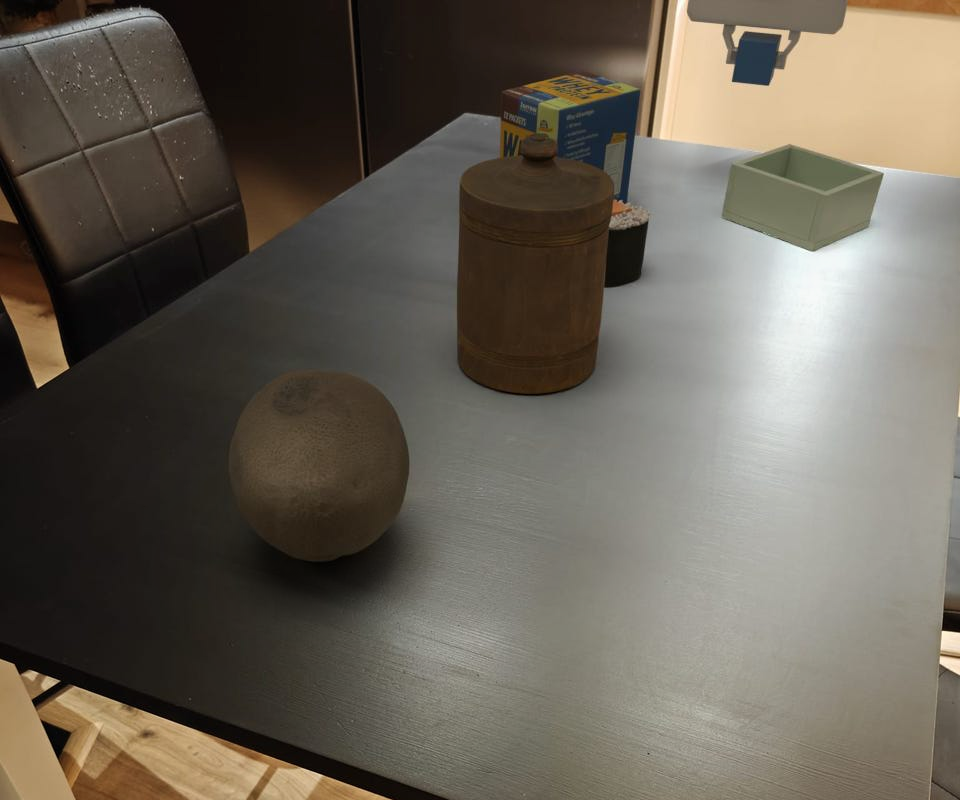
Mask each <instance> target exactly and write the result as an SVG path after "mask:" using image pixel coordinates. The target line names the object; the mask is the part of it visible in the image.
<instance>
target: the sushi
mask: <svg viewBox="0 0 960 800" xmlns="http://www.w3.org/2000/svg"><path fill="white" fill-rule="evenodd" d="M631 204H632V203H631V202H627V203H626V204H624V203H623V201H622V200H620V201H618V202H617V200H615V199H614V200H613V209H612V216H611V221H610V224H609V234H608V245H607V256H606V268H605V281H604V288H605V287H606V288H611V287H612V288H613V287H618V286H622V285H626V284H629V283H631V282H633V281H636V280H638V279H639V278H640V277H641V276H642V271H643V265H644V257H645V249H646V243H647V235H648V228H649V220H650V216H651V212H650V211H649V210H648V209H644V208H643V206H642V205H640V206H638V205H631Z"/></svg>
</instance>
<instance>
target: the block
mask: <svg viewBox="0 0 960 800" xmlns="http://www.w3.org/2000/svg"><path fill="white" fill-rule="evenodd" d="M782 36H783V35H782V34H779V33H767V32H759V31H758V32H757V31H748V30H744V32H742V35H741V36H740V38H738V39H739V40H738V45H737V47H738V49H737V55H736V60H735V65H733V72H732V78H731V83H736V84H737V83H738V84H745V85H746V84H747V85H757V86H763V87H765V86H766V87H769V86H770V85H771V82H772V80H773V78H774V75H775V70H776V69H773V68H774V63H775V58H776V54H777V52H778V51H780V46H781V41H782Z"/></svg>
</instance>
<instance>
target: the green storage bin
mask: <svg viewBox="0 0 960 800" xmlns="http://www.w3.org/2000/svg"><path fill="white" fill-rule="evenodd" d="M729 169H730V170H729V174H728V179H727V185H726V189H725V196H724V199H723V200H724V202H723V206H722V211H721V216H722V217H724V218H726V219H725V220H727V219H728V220H727V221H730V220H731V221H730V222H732V221H734V222H733V223H735V222H736V223H735V224H738V223H739V224H738V225H740V224H741V226H743V225H745V226H744V227H746V226H747V227H746V228H748V227H751V228H754V229H756V230H759V231H762V232H765V233H767V234H770V235H772V236H771V237H773V236H775V237H777V238H776V239H778V238H780V239H779V240H781V239H782V240H781V241H783V240H785V241H784V242H786V241H788V242H787V243H789V242H790V243H789V244H791V243H792V244H791V245H794V246H797V247H800V248H802V249H804V250H807V251H810V252H814V251H817V250H819V249H821V248H824V247H826V246H829V245H831V244H832V243H835V242H838V241H840V240H842V239H844V238H846V237H849V236H851V235H854V234H856V233H858V232H861V231H862V230H865V229H868V228H869V224H870V222H871V218H872V216H873V215H872V214H873V211H874V208H875V206H876V202H877V199H878V195H879V192H880V188H881V185H882V182H883V178H884V175H885V172H882V171H879V170H876V169H873V168H868V167H866V166H863V165H859V164H856V163H853V162H849V161H846V160H843V159H840V158H837V157H833V156H830V155H827V154H824V153H820V152H817V151H814V150H810V149H807V148H805V147H801V146H798V145H795V144H791V143H788V144H786V145H783V146H779V147H776V148H774V149H771V150H768V151H765V152H762V153H759V154H755V155H753V156H750V157H746V158H744V159H741V160H738V161H734V162H732V163H731V164H730V168H729ZM722 217H721V218H722ZM724 218H723V219H724ZM751 228H750V229H751ZM754 229H753V230H754ZM756 230H755V231H756ZM759 231H758V232H759ZM762 232H761V233H762ZM765 233H764V234H765ZM767 234H766V235H767ZM770 235H769V236H770ZM775 237H774V238H775Z"/></svg>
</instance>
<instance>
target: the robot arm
mask: <svg viewBox="0 0 960 800" xmlns="http://www.w3.org/2000/svg"><path fill="white" fill-rule="evenodd" d="M848 2H849V0H688V1H687V6H686V14H687V16H688V18H689V20H690V21H691V22H694V23H705V24H715V25H716V24H717V25H723V27H722V28H723V29H722V37H723V40H724V43H725V47H726V49H727V53H726V59H725V64H726V65H733V66H735V60H736V55H737V49H738V46H736V45H735V42H734V38H733V34H734V33H735V32H736V29H737V27H738V26H739V27H747V28H748V27H749V28H759V29H768V30H780V31H789V33H788V37H787V40H788V41H789V42H788V44H787V46H786V47H785V48H784V50H783V51H781V50H779V51H778V52H777V54H776V58H775V63H774V68H773V69H775V70H785V68H786V65H787V60H788V56H789V54H790V53H791V52H792V51H793V49H794V48H795V46H797V44H798V43H799V41H800V39H801V35H802V32H803V33H811V34H812V33H813V34H822V35H836V33H838V32H839V31H840V30H841V29H842V28H843V26H844V23H845V19H846V13H847V8H848Z"/></svg>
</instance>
